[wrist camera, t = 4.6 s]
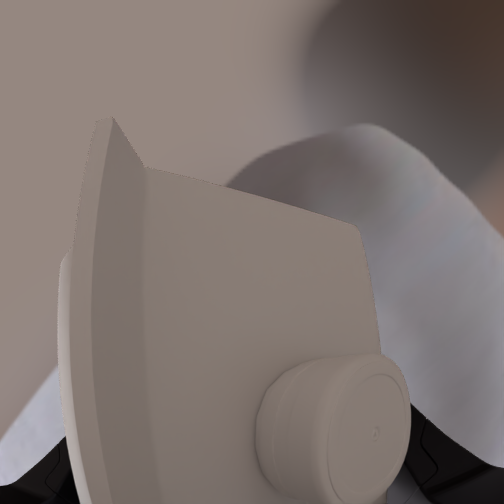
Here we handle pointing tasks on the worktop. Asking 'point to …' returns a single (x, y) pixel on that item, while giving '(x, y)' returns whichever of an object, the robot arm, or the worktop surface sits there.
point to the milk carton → (219, 346)
